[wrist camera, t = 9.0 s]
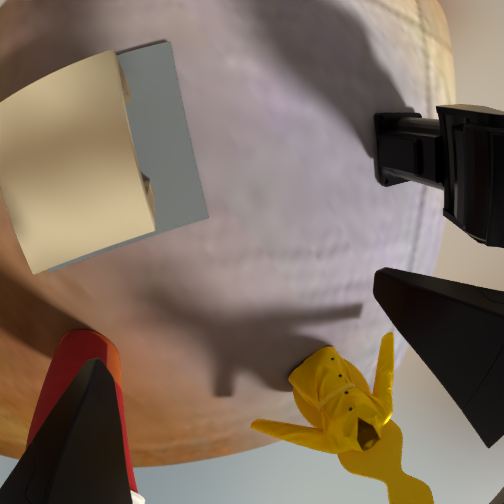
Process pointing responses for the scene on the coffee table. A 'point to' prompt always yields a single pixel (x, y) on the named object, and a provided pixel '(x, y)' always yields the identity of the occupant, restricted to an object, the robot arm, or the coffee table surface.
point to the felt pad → (160, 141)
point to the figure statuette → (351, 420)
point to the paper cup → (63, 372)
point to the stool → (73, 164)
